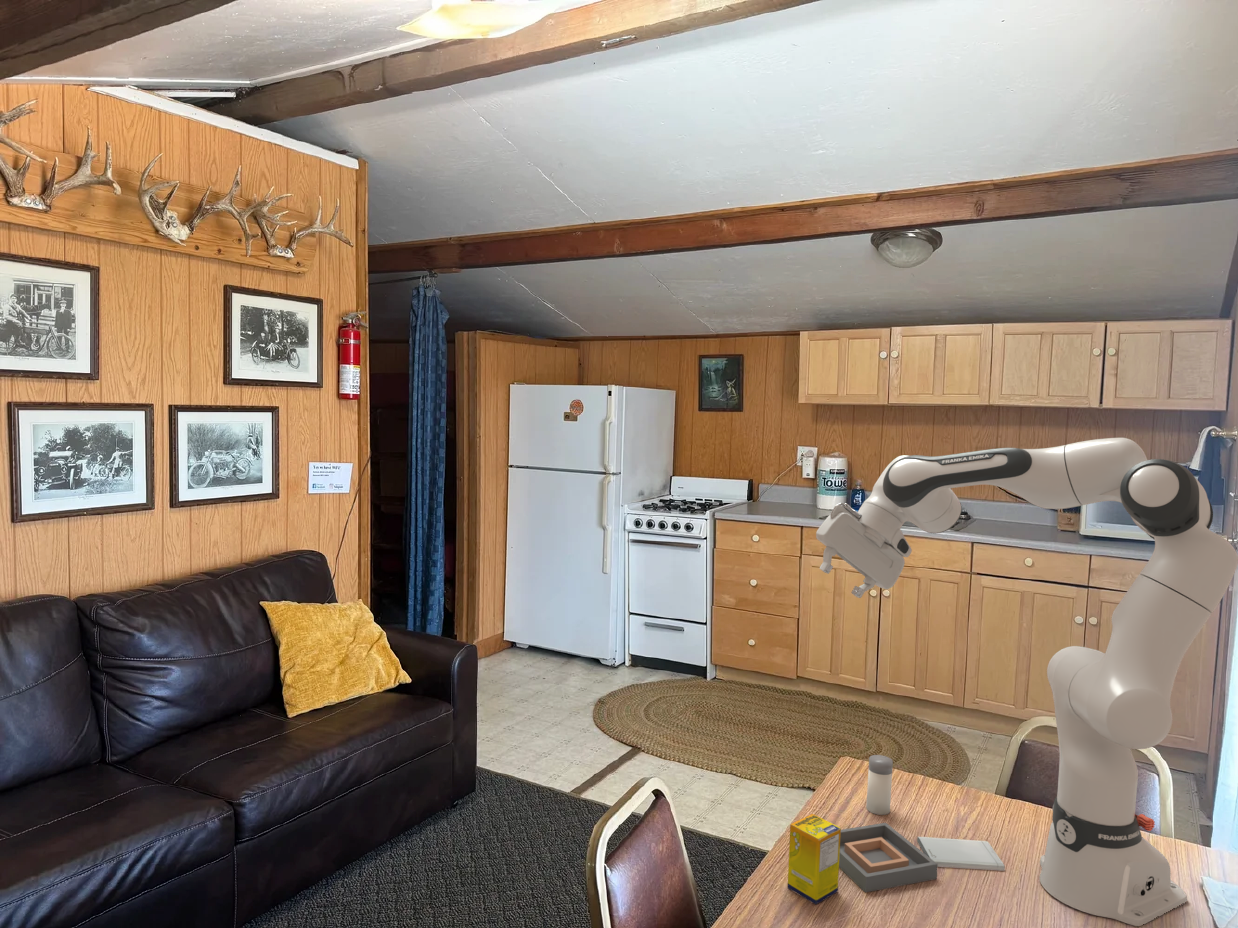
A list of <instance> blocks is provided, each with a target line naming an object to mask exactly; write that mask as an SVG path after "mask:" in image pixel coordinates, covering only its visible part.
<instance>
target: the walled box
mask: <svg viewBox="0 0 1238 928" xmlns="http://www.w3.org/2000/svg"><path fill="white" fill-rule="evenodd" d="M937 865H938V864H937V863H936V862H934V861H933V860H932V859H931V858H929V857H928V856H927V855H926V854H924V853H923V851H922V849H920V848H918V847H917V846H916V845H914V844H913V843H912V842H911V841H909V840H908V839H907V838H906V837H904V836H903V835H902V834H901V833H900V832H898V831H897V830H896V829H894V828H893V827H892V826H891V825H890V824H889V823H887V822H882V823H874V824H870V825H863V826H856V827H851V828H843V829H841V835H840V855H839V870H841V871H843V872H844V874H846V876H847V877H848V878H850V879H851V880H852V881H853V882H854V884H856V885H857V886H858V887H859V888H860V889H861V890H862V891H864V892H863V893H869V892H874V891H875V892H876V891H880V890H886V889H890V888H895V887H896V888H897V887H900V886H907V885H912V884H917V883H922V882H926V881H932V880H937V877H938V867H937Z"/></svg>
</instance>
